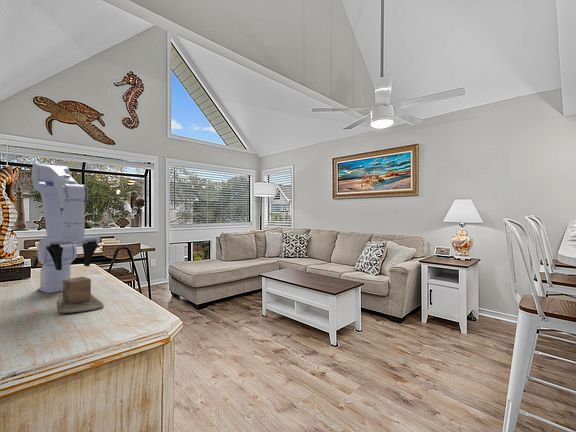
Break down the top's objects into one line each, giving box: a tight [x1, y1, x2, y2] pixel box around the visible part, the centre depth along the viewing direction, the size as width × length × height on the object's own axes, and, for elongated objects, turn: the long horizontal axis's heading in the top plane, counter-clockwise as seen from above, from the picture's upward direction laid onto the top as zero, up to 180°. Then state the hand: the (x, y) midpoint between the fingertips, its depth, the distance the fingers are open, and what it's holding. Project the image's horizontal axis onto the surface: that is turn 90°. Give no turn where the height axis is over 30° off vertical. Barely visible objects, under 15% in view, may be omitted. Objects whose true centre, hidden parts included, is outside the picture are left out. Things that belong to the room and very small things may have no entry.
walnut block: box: [62, 276, 92, 304], centre depth 86 cm, size 5×5×6 cm
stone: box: [58, 293, 105, 314], centre depth 87 cm, size 18×3×10 cm
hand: (73, 267), depth 92 cm, fingers open, 7 cm apart
